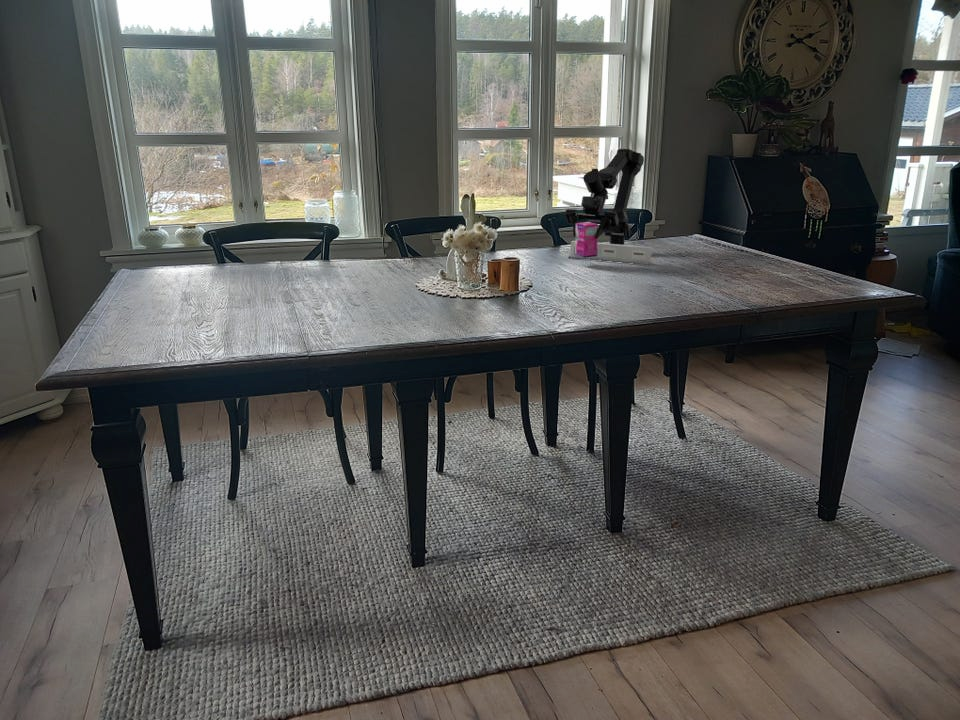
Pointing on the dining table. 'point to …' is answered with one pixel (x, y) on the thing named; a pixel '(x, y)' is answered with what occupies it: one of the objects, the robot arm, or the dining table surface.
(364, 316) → the dining table surface
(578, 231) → the supplement box
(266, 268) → the dining table surface
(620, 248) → the panel
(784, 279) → the dining table surface
